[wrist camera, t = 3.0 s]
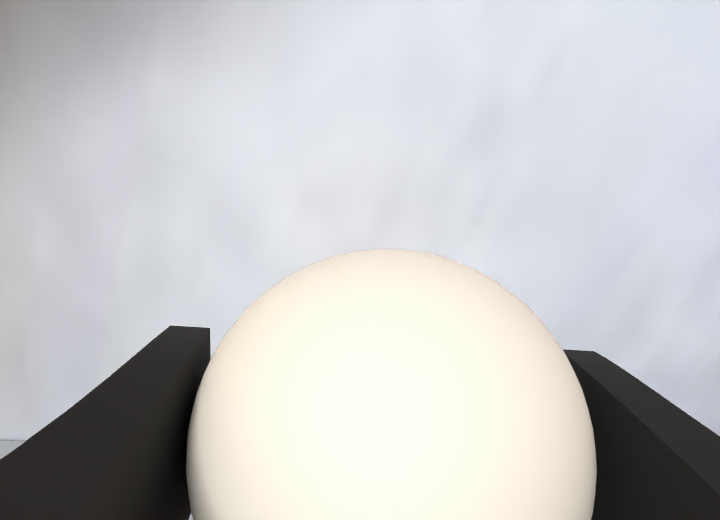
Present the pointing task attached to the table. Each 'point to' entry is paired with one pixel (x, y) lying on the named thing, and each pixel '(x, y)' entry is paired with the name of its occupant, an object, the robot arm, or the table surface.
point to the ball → (390, 402)
